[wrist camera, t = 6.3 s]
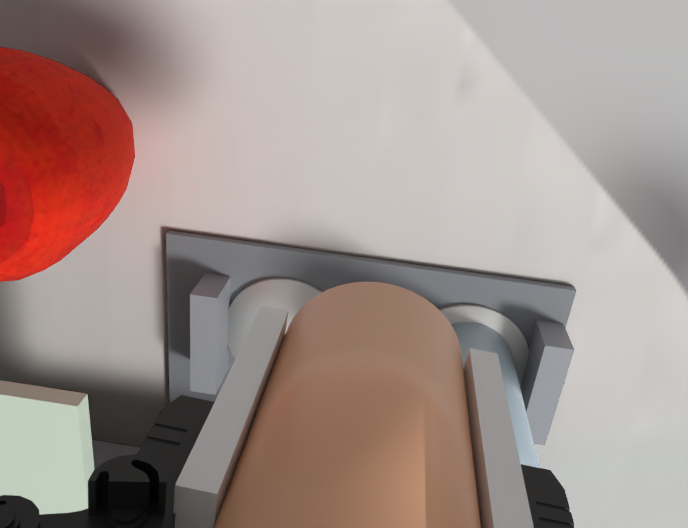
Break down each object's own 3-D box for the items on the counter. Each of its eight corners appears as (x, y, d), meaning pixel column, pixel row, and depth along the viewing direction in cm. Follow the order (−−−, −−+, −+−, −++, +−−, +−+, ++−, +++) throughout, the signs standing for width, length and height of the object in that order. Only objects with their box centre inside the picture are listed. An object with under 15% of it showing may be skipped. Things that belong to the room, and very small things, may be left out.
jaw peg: (294, 264, 16) (171, 551, 8) (482, 302, 16) (547, 631, 8) (272, 414, 18) (158, 757, 10) (438, 448, 18) (454, 824, 10)
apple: (10, 8, 29) (-193, 23, 20) (186, 71, 30) (72, 117, 20) (-4, 178, 33) (-180, 261, 24) (152, 232, 34) (43, 337, 24)
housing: (-144, 186, 34) (-418, 289, 23) (574, 286, 32) (657, 452, 21) (-85, 428, 42) (-272, 596, 30) (504, 523, 39) (538, 742, 28)
